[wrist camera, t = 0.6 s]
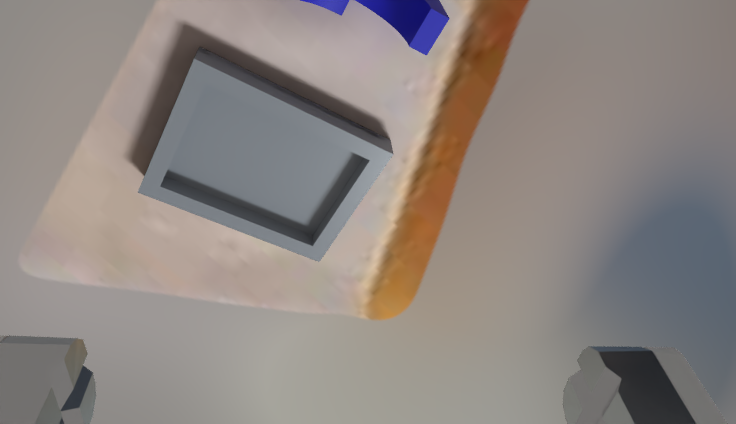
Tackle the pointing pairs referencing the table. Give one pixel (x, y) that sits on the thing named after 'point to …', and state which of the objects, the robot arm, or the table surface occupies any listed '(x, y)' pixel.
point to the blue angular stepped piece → (403, 18)
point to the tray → (262, 158)
